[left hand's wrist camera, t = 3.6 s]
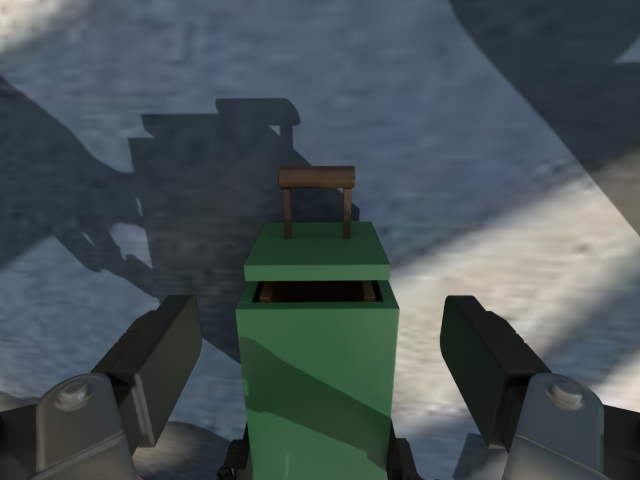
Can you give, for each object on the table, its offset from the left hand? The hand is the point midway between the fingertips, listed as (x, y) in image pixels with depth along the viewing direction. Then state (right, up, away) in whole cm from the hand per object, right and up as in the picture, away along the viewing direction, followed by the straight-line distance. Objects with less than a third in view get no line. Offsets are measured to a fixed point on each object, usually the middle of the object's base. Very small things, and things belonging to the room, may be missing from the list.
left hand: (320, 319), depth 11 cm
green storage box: (0, -6, +26) cm, 27 cm away
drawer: (0, -1, +23) cm, 23 cm away
